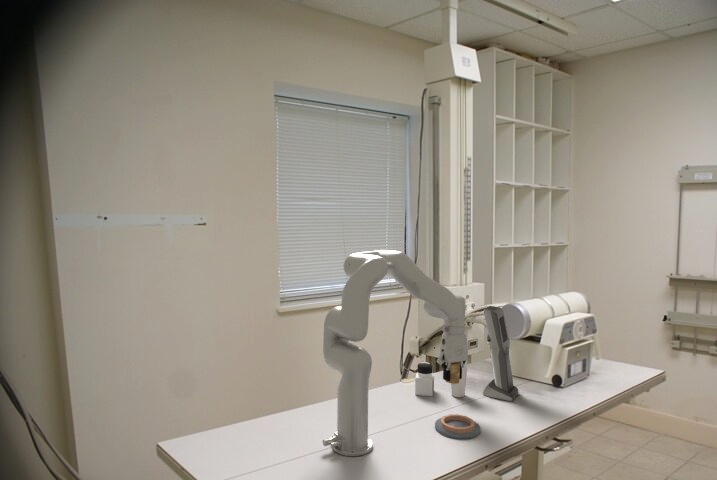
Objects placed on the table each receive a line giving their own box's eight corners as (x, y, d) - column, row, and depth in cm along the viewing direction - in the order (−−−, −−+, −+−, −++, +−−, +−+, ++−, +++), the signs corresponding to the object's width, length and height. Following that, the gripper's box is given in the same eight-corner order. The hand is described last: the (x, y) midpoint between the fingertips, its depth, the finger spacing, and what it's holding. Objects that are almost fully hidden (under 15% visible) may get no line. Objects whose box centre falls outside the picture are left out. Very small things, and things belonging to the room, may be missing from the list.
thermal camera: (488, 386, 194) (489, 305, 193) (519, 392, 188) (521, 308, 186) (480, 395, 184) (481, 309, 183) (512, 402, 178) (514, 313, 176)
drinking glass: (469, 394, 185) (469, 358, 185) (463, 399, 180) (464, 362, 179) (453, 391, 189) (453, 355, 188) (447, 396, 183) (447, 359, 183)
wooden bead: (451, 384, 164) (452, 364, 164) (442, 380, 168) (443, 361, 168) (462, 382, 166) (462, 363, 166) (452, 378, 171) (453, 359, 171)
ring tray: (456, 443, 144) (456, 435, 144) (425, 424, 157) (425, 417, 157) (489, 432, 152) (490, 425, 152) (458, 415, 165) (458, 408, 165)
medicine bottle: (433, 396, 183) (433, 367, 182) (415, 395, 184) (415, 365, 184) (433, 390, 190) (434, 361, 189) (416, 388, 191) (416, 360, 190)
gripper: (443, 334, 159) (441, 385, 160) (478, 329, 168) (476, 378, 168) (429, 329, 166) (427, 379, 166) (463, 325, 174) (462, 372, 175)
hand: (452, 378), depth 167 cm, fingers closed on wooden bead, 4 cm apart
